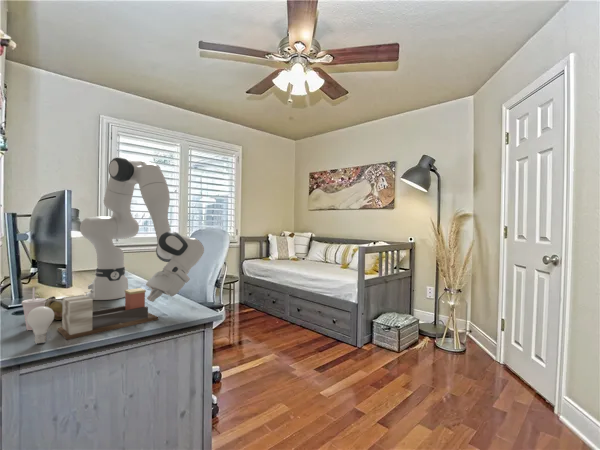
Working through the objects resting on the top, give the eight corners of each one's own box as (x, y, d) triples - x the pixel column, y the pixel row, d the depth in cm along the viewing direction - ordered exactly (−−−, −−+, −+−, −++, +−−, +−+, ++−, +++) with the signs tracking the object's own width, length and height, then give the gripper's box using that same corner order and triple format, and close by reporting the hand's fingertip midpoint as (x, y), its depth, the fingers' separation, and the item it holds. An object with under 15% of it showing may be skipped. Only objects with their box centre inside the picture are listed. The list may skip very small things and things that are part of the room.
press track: (57, 330, 104) (58, 297, 104) (144, 313, 125) (145, 285, 125) (66, 339, 96) (67, 304, 96) (158, 319, 117) (158, 290, 117)
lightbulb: (38, 348, 89) (38, 310, 89) (20, 346, 91) (20, 308, 90) (59, 340, 95) (59, 304, 95) (42, 338, 97) (42, 303, 97)
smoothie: (17, 333, 101) (18, 289, 101) (25, 327, 107) (26, 286, 107) (42, 330, 104) (42, 288, 104) (48, 324, 110) (49, 285, 110)
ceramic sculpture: (42, 292, 121) (84, 294, 123) (40, 314, 121) (82, 315, 123) (22, 299, 111) (68, 300, 113) (20, 323, 111) (66, 324, 113)
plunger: (124, 316, 116) (124, 290, 116) (139, 313, 120) (139, 287, 120) (129, 319, 113) (130, 292, 113) (145, 316, 117) (145, 290, 117)
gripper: (157, 264, 133) (133, 291, 126) (181, 270, 119) (155, 300, 112) (167, 274, 136) (144, 300, 129) (192, 280, 123) (167, 309, 116)
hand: (149, 300), depth 121 cm, fingers closed
